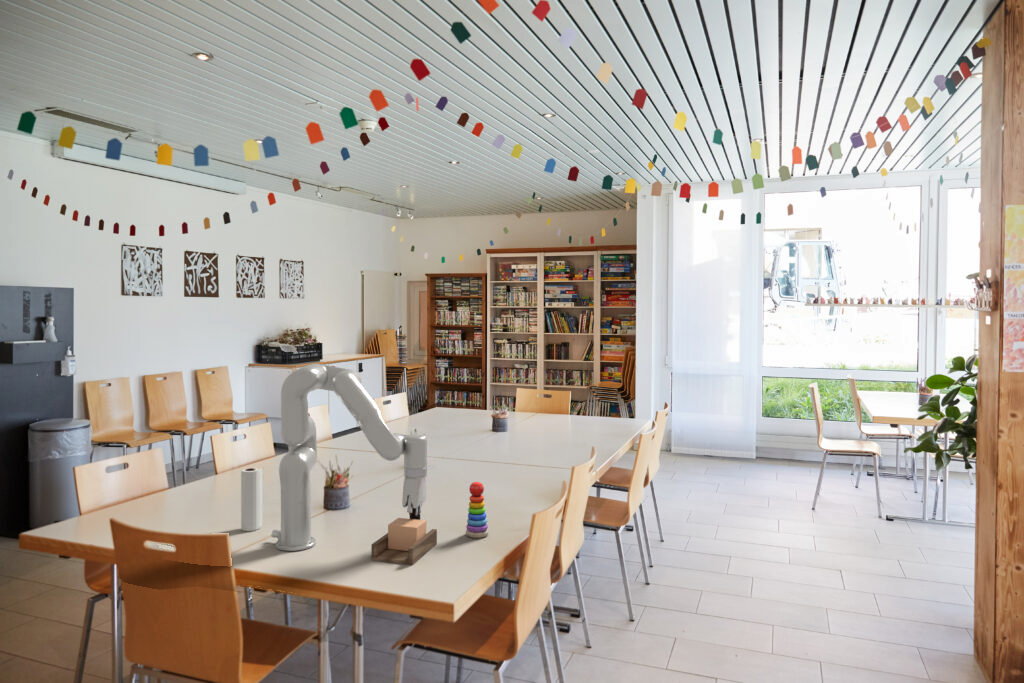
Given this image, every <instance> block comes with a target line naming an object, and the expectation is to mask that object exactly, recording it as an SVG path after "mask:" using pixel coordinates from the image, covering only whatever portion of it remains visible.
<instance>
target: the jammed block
mask: <svg viewBox="0 0 1024 683" xmlns="http://www.w3.org/2000/svg"><path fill="white" fill-rule="evenodd" d="M387 533H388V549H395V550H404V551H408V548H409V547H411V546H412V545H413V544H414V543H416V542H417V541H418V540H419V539H421V538H422V537H423V536H424V535H426V534H427V520H425V519H420V520H416V519H410V518H403V517H397V518H396V519H395V520H393V521H391V522H390V523H388V525H387Z"/></svg>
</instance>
